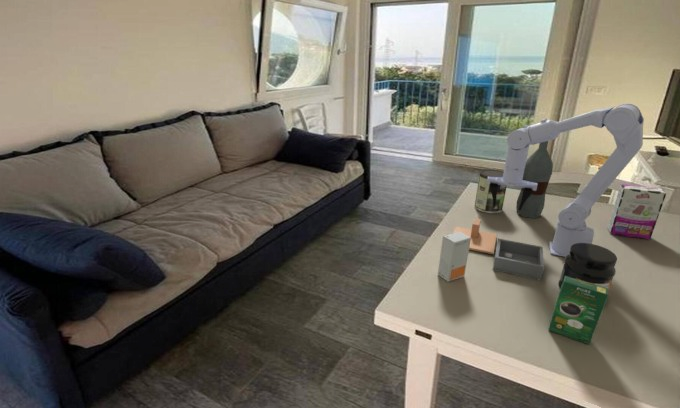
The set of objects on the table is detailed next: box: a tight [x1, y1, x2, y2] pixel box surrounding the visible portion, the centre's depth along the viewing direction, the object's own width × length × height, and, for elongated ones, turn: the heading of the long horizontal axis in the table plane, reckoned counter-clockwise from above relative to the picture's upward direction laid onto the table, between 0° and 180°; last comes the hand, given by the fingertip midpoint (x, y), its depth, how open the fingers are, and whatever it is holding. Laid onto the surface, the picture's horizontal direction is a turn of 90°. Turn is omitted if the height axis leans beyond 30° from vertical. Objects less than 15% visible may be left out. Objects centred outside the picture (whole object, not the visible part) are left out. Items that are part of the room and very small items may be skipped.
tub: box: [492, 238, 545, 281], centre depth 106 cm, size 12×12×4 cm
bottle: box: [515, 141, 554, 219], centre depth 133 cm, size 9×9×30 cm
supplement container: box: [557, 243, 618, 292], centre depth 92 cm, size 10×10×12 cm
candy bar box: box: [607, 183, 667, 241], centre depth 121 cm, size 11×5×16 cm, turn 68°
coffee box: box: [548, 276, 609, 345], centre depth 78 cm, size 8×3×13 cm, turn 57°
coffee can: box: [473, 168, 508, 214], centre depth 141 cm, size 10×10×14 cm
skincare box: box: [437, 232, 471, 283], centre depth 99 cm, size 6×4×12 cm
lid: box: [452, 217, 497, 255], centre depth 118 cm, size 13×13×6 cm
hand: (506, 207), depth 122 cm, fingers open, 7 cm apart
